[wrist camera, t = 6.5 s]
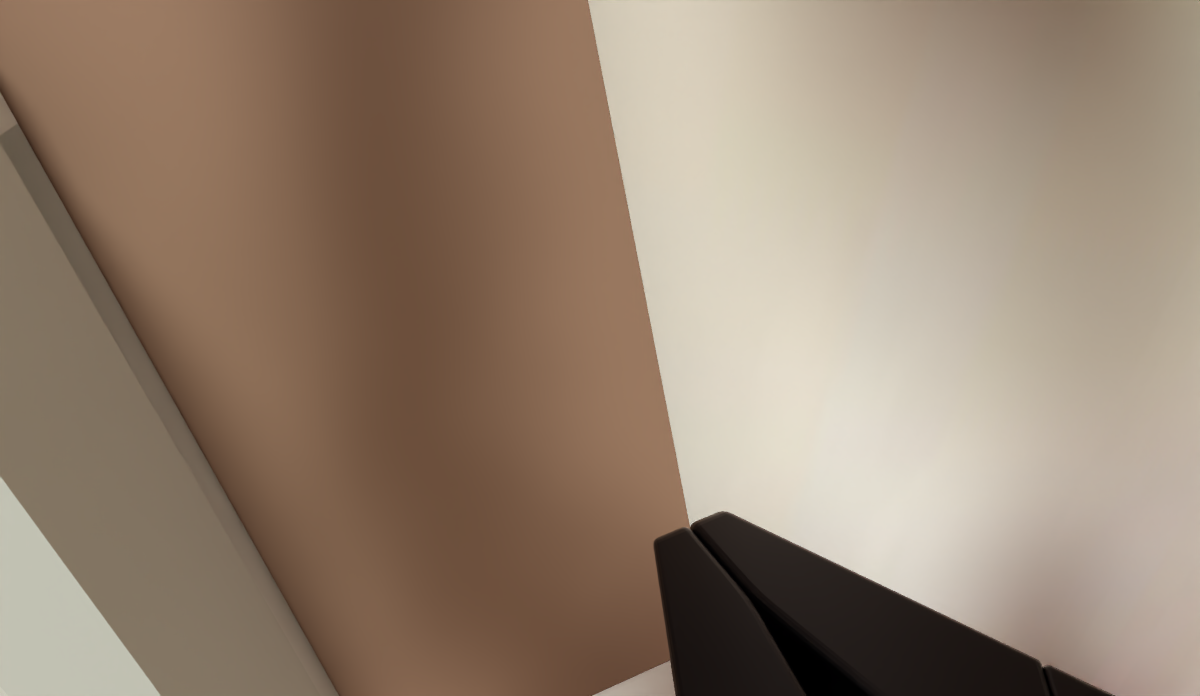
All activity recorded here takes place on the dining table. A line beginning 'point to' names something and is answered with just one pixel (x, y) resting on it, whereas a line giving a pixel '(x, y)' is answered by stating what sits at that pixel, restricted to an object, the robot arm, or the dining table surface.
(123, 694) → the panel
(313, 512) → the board
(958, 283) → the dining table surface
